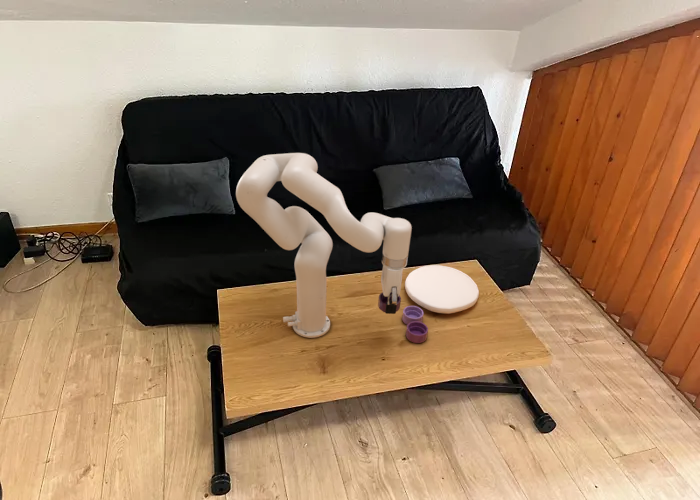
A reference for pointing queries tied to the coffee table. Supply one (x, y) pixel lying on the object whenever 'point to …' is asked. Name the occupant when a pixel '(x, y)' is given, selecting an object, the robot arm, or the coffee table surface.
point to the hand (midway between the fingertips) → (389, 304)
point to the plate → (441, 289)
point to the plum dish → (416, 332)
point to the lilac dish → (412, 314)
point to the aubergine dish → (383, 301)
